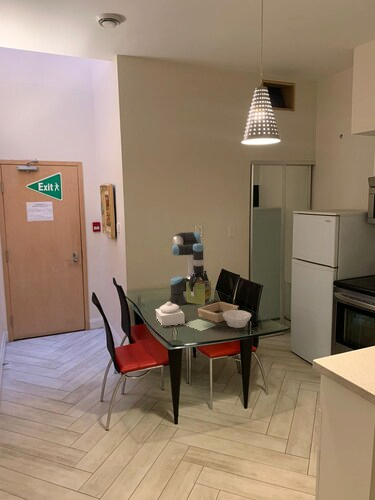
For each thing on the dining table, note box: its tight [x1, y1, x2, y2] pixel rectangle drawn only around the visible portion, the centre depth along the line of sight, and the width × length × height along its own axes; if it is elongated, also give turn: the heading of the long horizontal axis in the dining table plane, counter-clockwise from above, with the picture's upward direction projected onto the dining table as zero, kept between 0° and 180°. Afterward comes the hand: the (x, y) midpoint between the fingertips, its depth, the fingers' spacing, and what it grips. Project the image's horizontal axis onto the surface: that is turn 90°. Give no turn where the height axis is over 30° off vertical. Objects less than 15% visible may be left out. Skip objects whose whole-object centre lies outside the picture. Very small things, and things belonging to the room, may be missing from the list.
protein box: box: [186, 279, 212, 306], centre depth 275 cm, size 10×15×16 cm
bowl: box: [223, 309, 252, 329], centre depth 277 cm, size 21×21×8 cm
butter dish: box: [154, 301, 186, 326], centre depth 286 cm, size 18×18×16 cm
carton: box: [196, 301, 240, 323], centre depth 298 cm, size 21×28×6 cm
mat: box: [182, 318, 217, 332], centre depth 279 cm, size 19×16×1 cm
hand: (199, 294), depth 275 cm, fingers closed on protein box, 12 cm apart
